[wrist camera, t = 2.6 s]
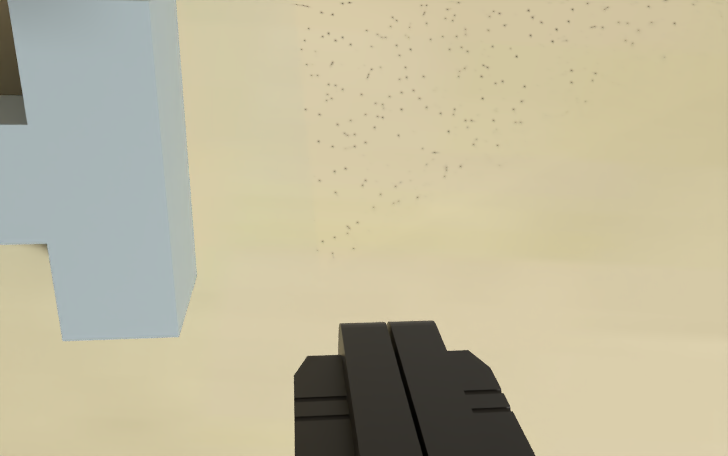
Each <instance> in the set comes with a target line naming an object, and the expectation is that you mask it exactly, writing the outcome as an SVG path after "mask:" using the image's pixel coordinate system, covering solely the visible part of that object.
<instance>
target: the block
mask: <svg viewBox="0 0 728 456" xmlns="http://www.w3.org/2000/svg"><path fill="white" fill-rule="evenodd" d="M7 1H8V7H9V13H10V19H11V25H12V31H13V38H14V44H15V50H16V56H17V62H18V68H19V75H20V81H21V87H22V93H23V95H0V245H8V244H47V247H48V253H49V260H50V266H51V272H52V278H53V284H54V290H55V297H56V303H57V309H58V315H59V321H60V327H61V334H62V340H63V341H80V340H108V339H136V338H165V337H179V335H180V332H181V328H182V325H183V321H184V318H185V315H186V311H187V308H188V304H189V301H190V297H191V294H192V291H193V287H194V284H195V280H196V277H197V271H196V258H195V245H194V232H193V219H192V205H191V192H190V179H189V166H188V153H187V140H186V126H185V113H184V100H183V87H182V74H181V61H180V48H179V35H178V21H177V8H176V0H7Z"/></svg>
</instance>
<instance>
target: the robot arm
mask: <svg viewBox="0 0 728 456" xmlns="http://www.w3.org/2000/svg"><path fill="white" fill-rule="evenodd" d="M294 415H295V456H535V454H534V452H533V450H532V448H531V446H530V444H529V442H528V440H527V438H526V436H525V435H524V433H523V431H522V429H521V427H520V425H519V423H518V421H517V419H516V417H515V415H514V413H513V411H512V412H511V410H510V405H509V403H508V401H507V399H506V397H505V395H504V394H503V393H501V388H500V386H499V384H498V382H497V380H496V378H495V376H494V374H493V372H492V370H491V368H490V367H489V366H487V365H486V364H485V363H484V362H482V361H481V360H480V359H479V358H477V357H476V356H475V355H474V354H472V353H471V352H470V351H468V350H462V351H447V350H446V347H445V345H444V343H443V340H442V338H441V335H440V333H439V331H438V328H437V326H436V324H435V322H434V321H403V322H388V323H387V325H386V323H385V322H375V323H342V324H339V342H338V355H325V356H307V358H306V359H305V360H304V362H303V363H302V365H301V366H300V368H299V369H298V371H297V372H296V373H295V375H294Z"/></svg>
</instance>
